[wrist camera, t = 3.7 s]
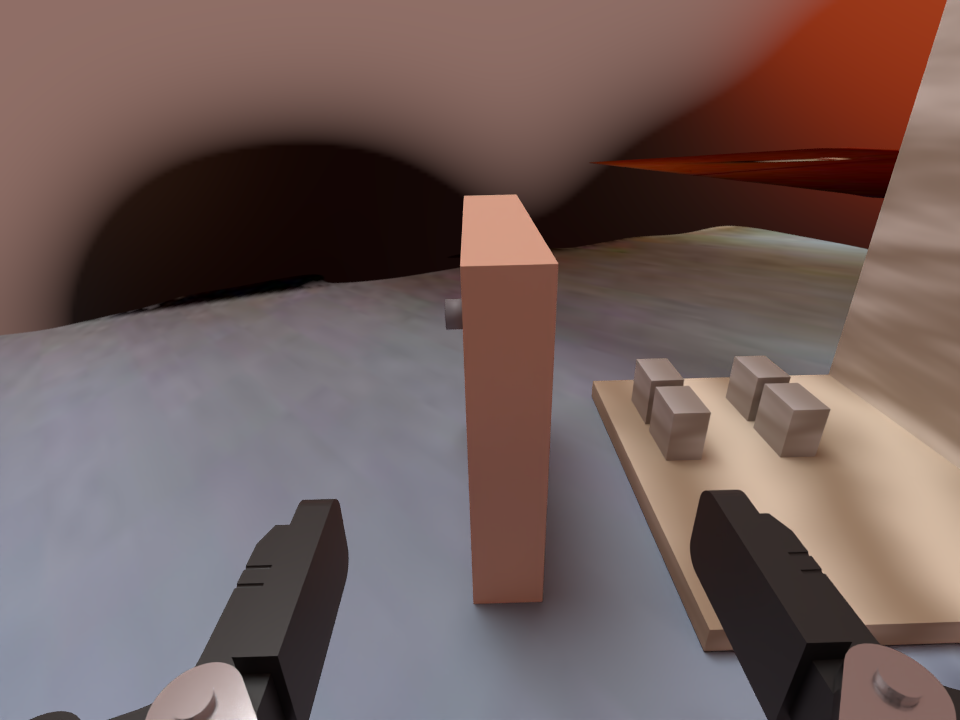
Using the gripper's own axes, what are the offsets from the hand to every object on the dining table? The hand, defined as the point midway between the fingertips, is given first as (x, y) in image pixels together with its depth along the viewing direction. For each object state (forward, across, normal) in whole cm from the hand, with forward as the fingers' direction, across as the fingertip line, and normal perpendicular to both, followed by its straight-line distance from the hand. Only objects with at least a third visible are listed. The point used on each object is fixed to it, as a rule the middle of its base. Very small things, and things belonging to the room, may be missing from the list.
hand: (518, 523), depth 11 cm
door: (+10, 0, +7) cm, 12 cm away
